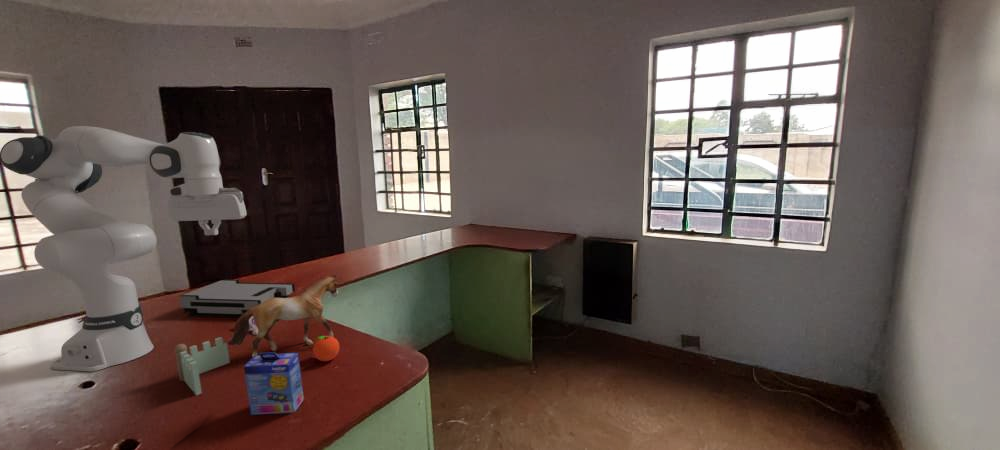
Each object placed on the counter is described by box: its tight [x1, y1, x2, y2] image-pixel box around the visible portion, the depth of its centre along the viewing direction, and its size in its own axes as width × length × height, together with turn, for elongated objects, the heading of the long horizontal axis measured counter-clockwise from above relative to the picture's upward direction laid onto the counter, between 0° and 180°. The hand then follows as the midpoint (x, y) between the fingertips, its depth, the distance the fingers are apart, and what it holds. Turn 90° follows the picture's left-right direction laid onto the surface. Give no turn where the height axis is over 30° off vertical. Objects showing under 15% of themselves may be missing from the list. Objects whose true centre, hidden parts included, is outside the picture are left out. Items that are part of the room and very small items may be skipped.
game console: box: [178, 278, 296, 318], centre depth 156 cm, size 21×32×8 cm, turn 83°
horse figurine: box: [227, 274, 340, 358], centre depth 117 cm, size 31×8×21 cm, turn 123°
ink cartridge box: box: [243, 351, 305, 416], centre depth 90 cm, size 10×6×14 cm, turn 95°
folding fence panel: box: [180, 351, 203, 396], centre depth 98 cm, size 10×1×8 cm, turn 51°
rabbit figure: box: [248, 316, 258, 336], centre depth 133 cm, size 6×6×15 cm
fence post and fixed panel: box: [173, 336, 230, 382], centre depth 106 cm, size 11×3×10 cm, turn 144°
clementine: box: [312, 335, 341, 362], centre depth 113 cm, size 8×7×7 cm
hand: (211, 234), depth 118 cm, fingers closed
